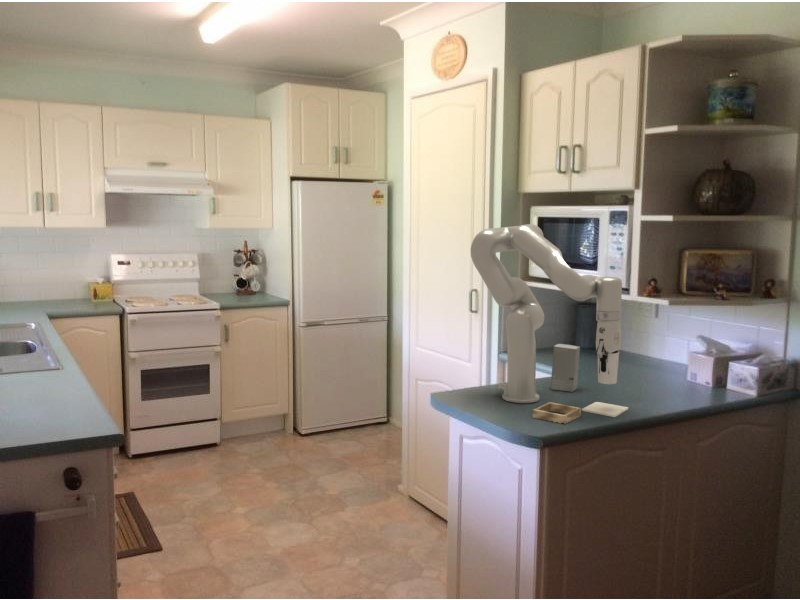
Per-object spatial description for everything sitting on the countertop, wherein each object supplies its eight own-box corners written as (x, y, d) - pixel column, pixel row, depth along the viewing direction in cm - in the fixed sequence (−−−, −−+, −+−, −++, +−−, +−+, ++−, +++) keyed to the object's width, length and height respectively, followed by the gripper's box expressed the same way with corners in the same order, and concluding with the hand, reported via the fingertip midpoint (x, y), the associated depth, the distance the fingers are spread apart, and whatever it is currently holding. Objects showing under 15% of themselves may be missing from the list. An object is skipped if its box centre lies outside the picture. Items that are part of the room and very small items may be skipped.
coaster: (581, 410, 230) (581, 409, 230) (596, 403, 239) (596, 401, 239) (614, 417, 224) (614, 415, 223) (628, 409, 232) (628, 407, 232)
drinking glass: (614, 379, 233) (615, 349, 232) (621, 384, 227) (622, 353, 225) (593, 379, 233) (594, 349, 232) (600, 384, 226) (601, 353, 225)
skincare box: (550, 389, 256) (551, 346, 254) (556, 385, 262) (557, 342, 260) (574, 392, 252) (575, 348, 250) (579, 387, 258) (580, 344, 256)
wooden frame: (532, 417, 224) (532, 409, 223) (549, 409, 232) (549, 402, 232) (565, 424, 217) (565, 416, 216) (580, 415, 225) (581, 408, 225)
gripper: (609, 320, 218) (607, 379, 221) (630, 313, 231) (628, 369, 233) (586, 318, 223) (584, 376, 225) (607, 311, 236) (606, 366, 238)
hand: (607, 371), depth 229 cm, fingers closed on drinking glass, 3 cm apart
